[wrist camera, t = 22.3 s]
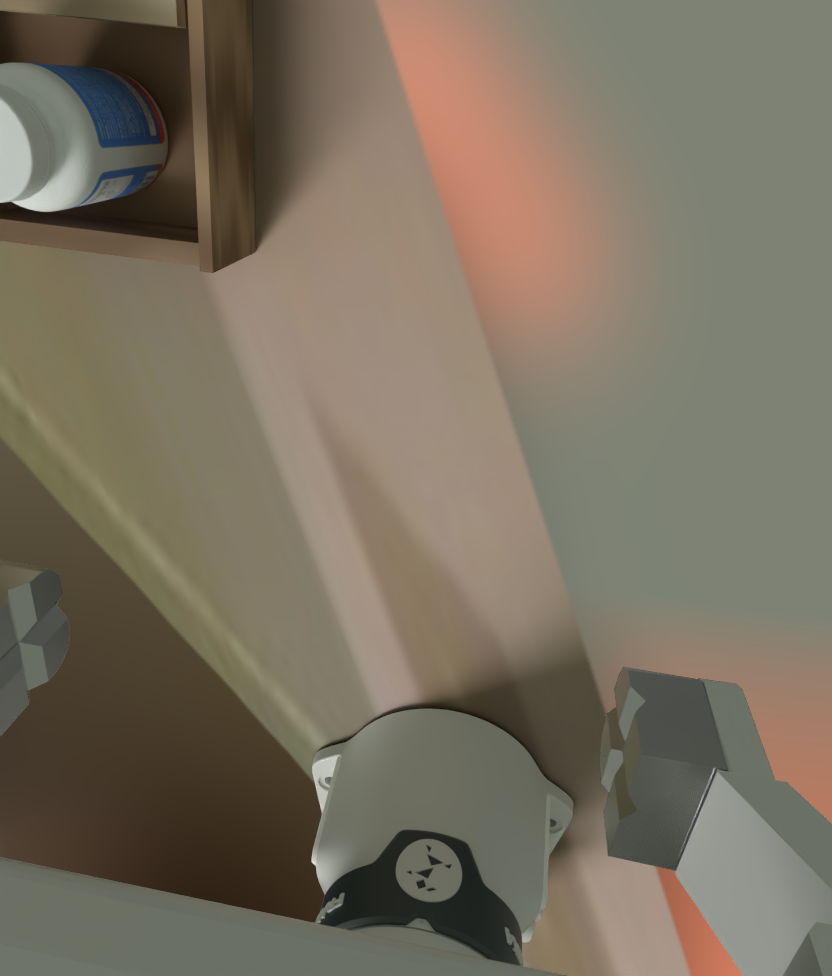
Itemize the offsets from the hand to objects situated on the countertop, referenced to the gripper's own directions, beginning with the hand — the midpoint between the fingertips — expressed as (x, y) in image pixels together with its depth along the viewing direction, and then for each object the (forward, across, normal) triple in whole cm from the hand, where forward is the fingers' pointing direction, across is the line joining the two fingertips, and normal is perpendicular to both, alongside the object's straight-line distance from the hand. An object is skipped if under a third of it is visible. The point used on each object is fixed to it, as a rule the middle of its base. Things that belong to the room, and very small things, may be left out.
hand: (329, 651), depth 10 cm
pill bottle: (+28, +18, -4) cm, 34 cm away
